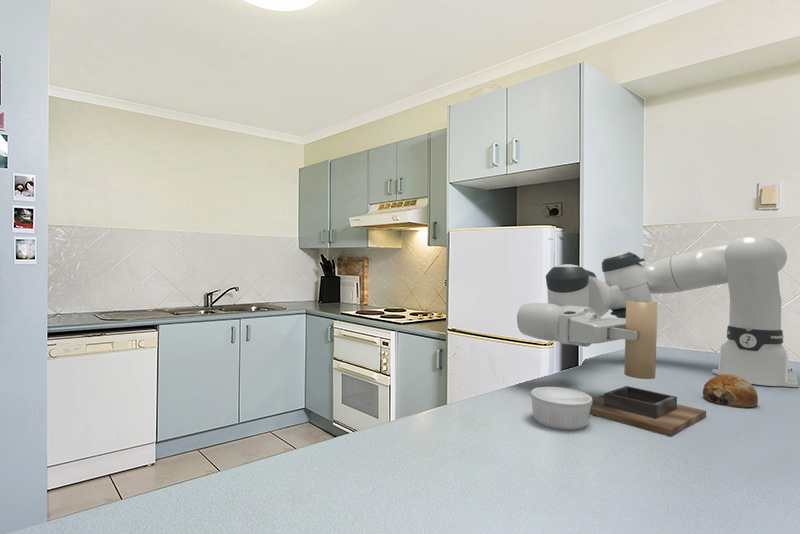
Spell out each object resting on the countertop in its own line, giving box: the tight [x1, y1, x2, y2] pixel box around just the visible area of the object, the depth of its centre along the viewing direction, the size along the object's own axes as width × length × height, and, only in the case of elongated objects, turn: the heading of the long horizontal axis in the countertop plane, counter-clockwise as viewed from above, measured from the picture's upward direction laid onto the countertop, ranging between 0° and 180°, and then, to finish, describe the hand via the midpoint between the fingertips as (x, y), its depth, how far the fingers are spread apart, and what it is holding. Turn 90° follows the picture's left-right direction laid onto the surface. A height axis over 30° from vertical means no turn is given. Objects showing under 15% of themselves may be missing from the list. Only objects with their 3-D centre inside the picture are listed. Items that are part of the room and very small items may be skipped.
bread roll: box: [702, 374, 759, 409], centre depth 103 cm, size 10×10×8 cm
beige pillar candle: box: [623, 301, 658, 380], centre depth 93 cm, size 6×6×15 cm
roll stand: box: [589, 385, 707, 437], centre depth 93 cm, size 18×18×4 cm
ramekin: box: [529, 386, 593, 431], centre depth 87 cm, size 11×11×5 cm
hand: (645, 334), depth 92 cm, fingers closed on beige pillar candle, 6 cm apart
